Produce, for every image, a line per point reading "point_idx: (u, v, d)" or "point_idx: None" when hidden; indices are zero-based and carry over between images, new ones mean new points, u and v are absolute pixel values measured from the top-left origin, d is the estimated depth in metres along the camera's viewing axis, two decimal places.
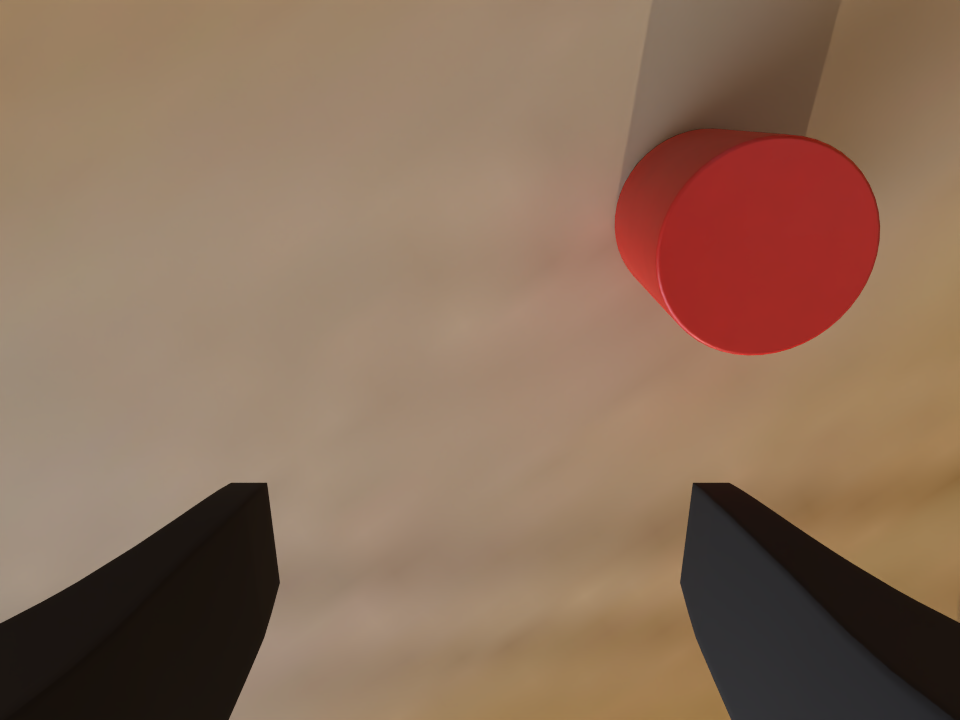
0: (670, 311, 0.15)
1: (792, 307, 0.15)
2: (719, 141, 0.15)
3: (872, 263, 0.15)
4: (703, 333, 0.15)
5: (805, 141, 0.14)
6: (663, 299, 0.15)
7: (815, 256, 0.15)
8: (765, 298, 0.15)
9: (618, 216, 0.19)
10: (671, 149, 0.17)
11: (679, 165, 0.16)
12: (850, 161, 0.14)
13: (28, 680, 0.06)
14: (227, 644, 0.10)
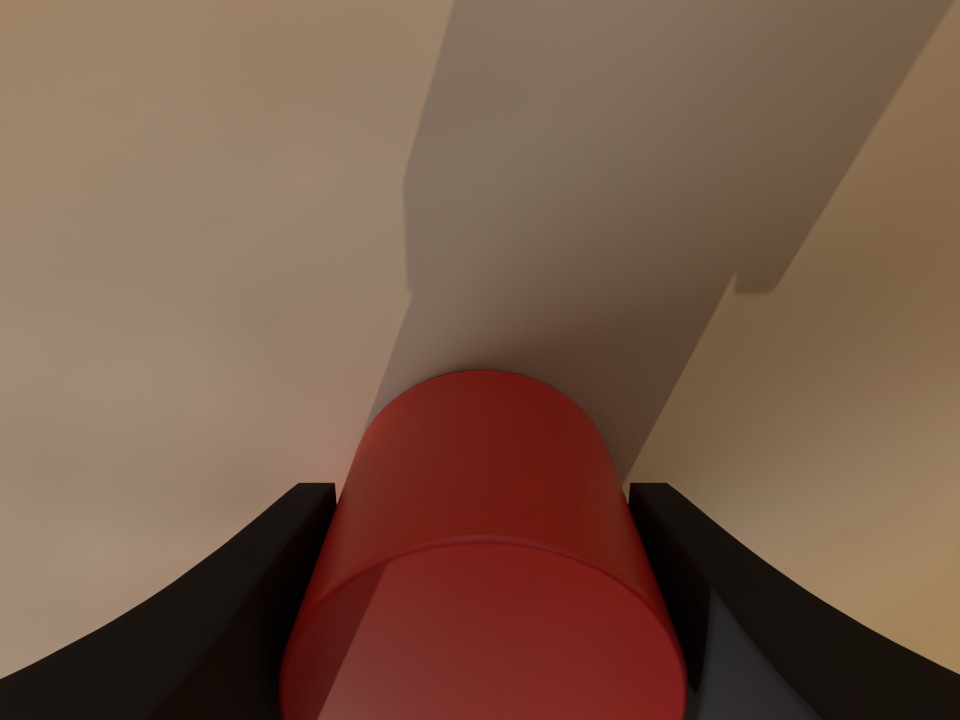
0: None
1: None
2: (457, 477, 0.08)
3: None
4: None
5: (577, 562, 0.07)
6: None
7: None
8: None
9: None
10: (424, 417, 0.10)
11: (386, 492, 0.09)
12: (652, 610, 0.07)
13: (156, 680, 0.06)
14: None
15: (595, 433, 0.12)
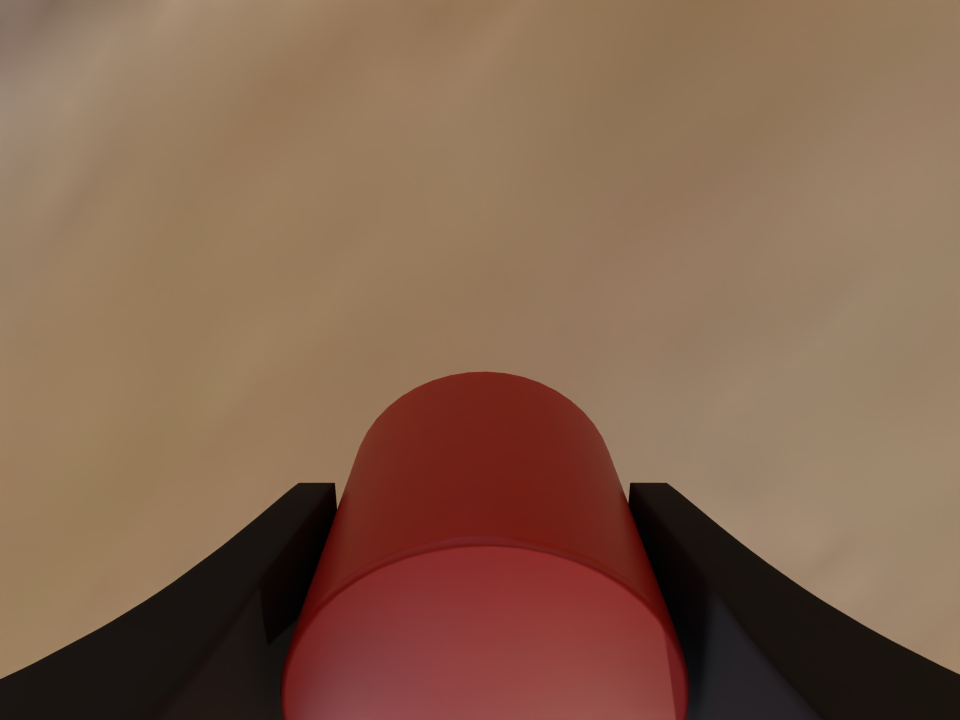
0: None
1: None
2: (459, 479, 0.08)
3: None
4: None
5: (578, 564, 0.07)
6: None
7: None
8: None
9: None
10: (425, 419, 0.10)
11: (387, 494, 0.09)
12: (654, 613, 0.07)
13: (157, 679, 0.06)
14: None
15: (596, 435, 0.12)
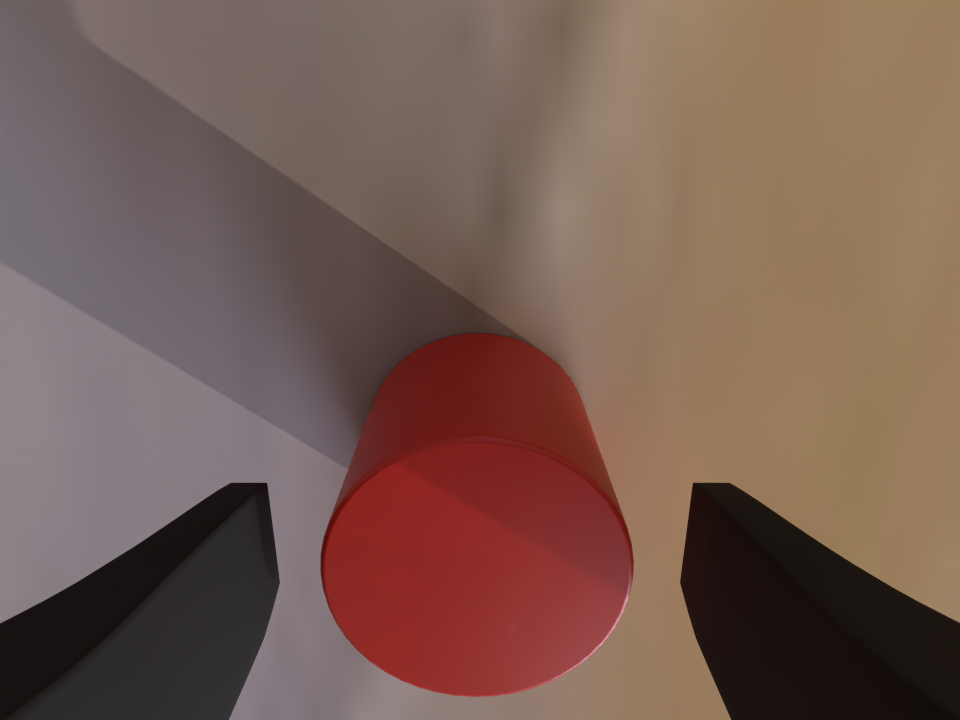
0: (334, 618, 0.11)
1: (501, 650, 0.11)
2: (457, 402, 0.11)
3: (615, 622, 0.11)
4: (376, 655, 0.11)
5: (546, 456, 0.10)
6: (327, 601, 0.11)
7: (539, 598, 0.11)
8: (465, 633, 0.11)
9: None
10: (430, 366, 0.13)
11: (402, 416, 0.11)
12: (603, 496, 0.10)
13: (28, 679, 0.06)
14: (227, 644, 0.10)
15: (570, 384, 0.14)
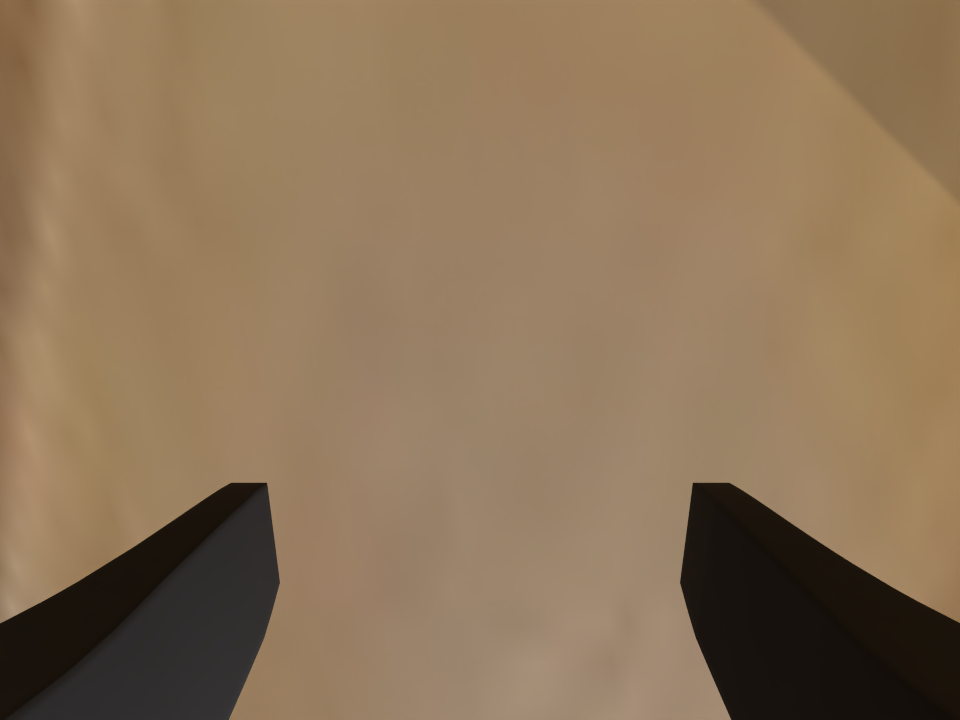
0: None
1: None
2: None
3: None
4: None
5: None
6: None
7: None
8: None
9: None
10: None
11: None
12: None
13: (28, 679, 0.06)
14: (227, 644, 0.10)
15: None
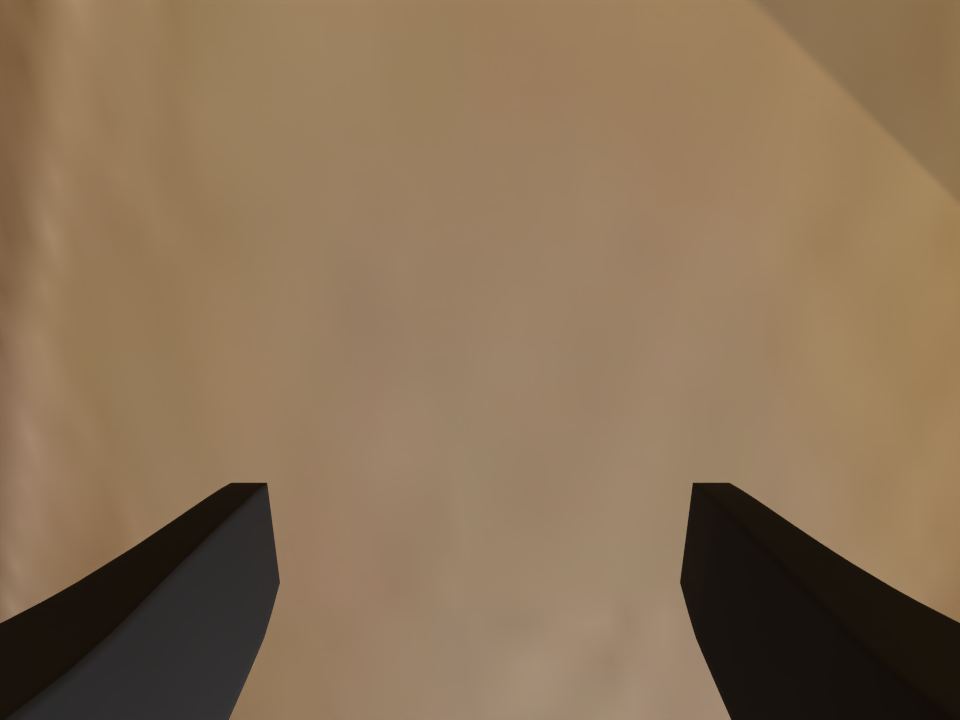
0: None
1: None
2: None
3: None
4: None
5: None
6: None
7: None
8: None
9: None
10: None
11: None
12: None
13: (28, 679, 0.06)
14: (227, 644, 0.10)
15: None
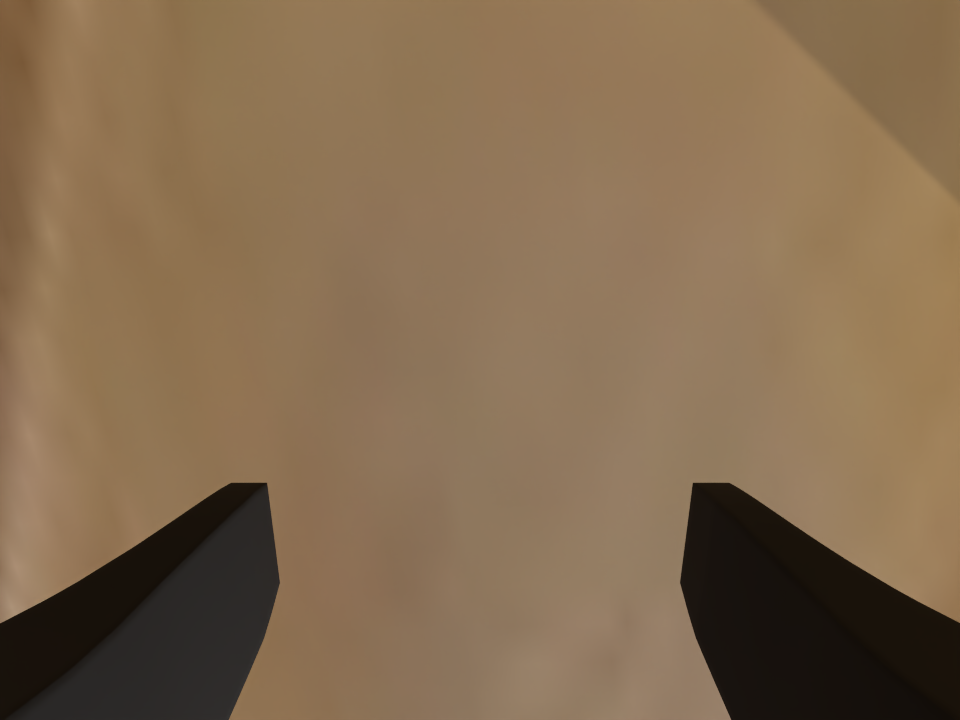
0: None
1: None
2: None
3: None
4: None
5: None
6: None
7: None
8: None
9: None
10: None
11: None
12: None
13: (28, 679, 0.06)
14: (227, 644, 0.10)
15: None
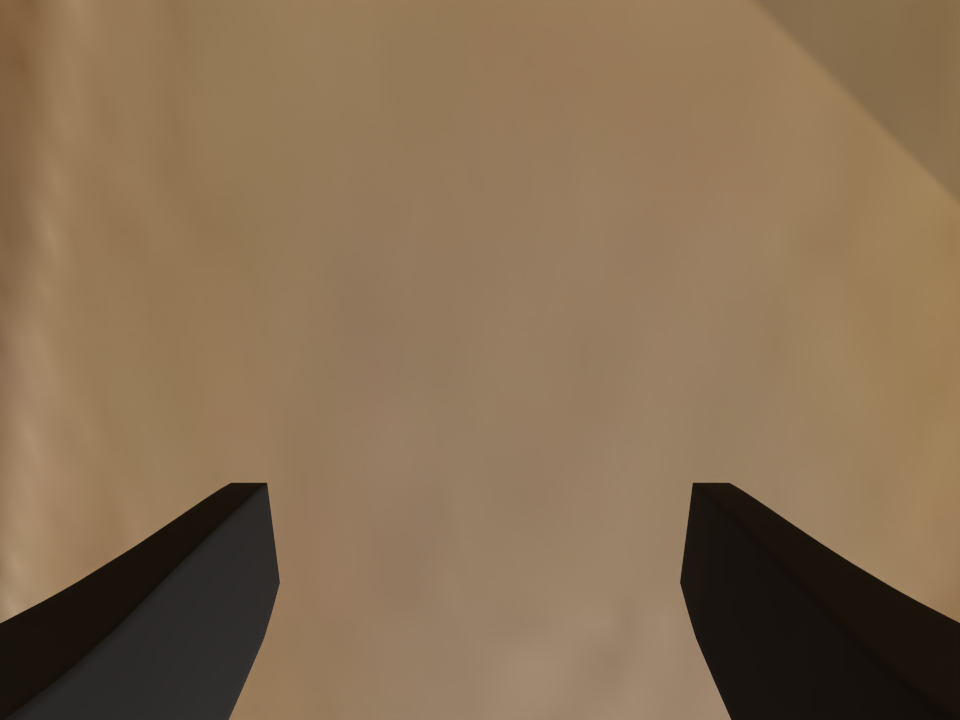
0: None
1: None
2: None
3: None
4: None
5: None
6: None
7: None
8: None
9: None
10: None
11: None
12: None
13: (28, 679, 0.06)
14: (227, 644, 0.10)
15: None
